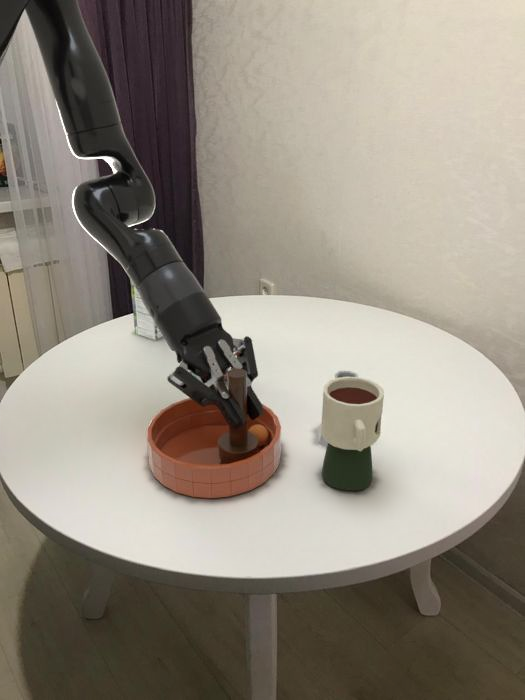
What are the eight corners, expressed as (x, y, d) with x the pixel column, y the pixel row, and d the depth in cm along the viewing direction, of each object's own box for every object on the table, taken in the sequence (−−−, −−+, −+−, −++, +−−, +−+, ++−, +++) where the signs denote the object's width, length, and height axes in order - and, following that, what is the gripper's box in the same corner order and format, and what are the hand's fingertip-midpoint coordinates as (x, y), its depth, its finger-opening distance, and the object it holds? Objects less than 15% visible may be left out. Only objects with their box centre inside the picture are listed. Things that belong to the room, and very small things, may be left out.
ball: (251, 427, 78) (267, 419, 80) (238, 431, 80) (254, 423, 82) (260, 448, 78) (276, 439, 79) (248, 452, 80) (263, 443, 82)
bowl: (149, 509, 70) (145, 474, 67) (150, 429, 85) (147, 399, 83) (291, 493, 72) (292, 460, 70) (268, 419, 87) (268, 389, 85)
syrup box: (155, 325, 119) (149, 256, 113) (177, 332, 116) (172, 261, 110) (134, 334, 115) (127, 263, 109) (156, 342, 112) (150, 268, 106)
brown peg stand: (220, 467, 74) (217, 384, 69) (217, 444, 79) (214, 364, 74) (261, 464, 75) (261, 381, 70) (255, 441, 80) (255, 362, 75)
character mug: (385, 507, 70) (396, 413, 64) (325, 510, 69) (331, 416, 64) (364, 453, 80) (372, 367, 74) (312, 455, 79) (316, 369, 74)
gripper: (147, 306, 68) (225, 435, 66) (231, 277, 77) (302, 389, 75) (123, 336, 73) (195, 455, 71) (205, 305, 83) (270, 410, 81)
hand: (249, 421), depth 73 cm, fingers closed on brown peg stand, 2 cm apart
